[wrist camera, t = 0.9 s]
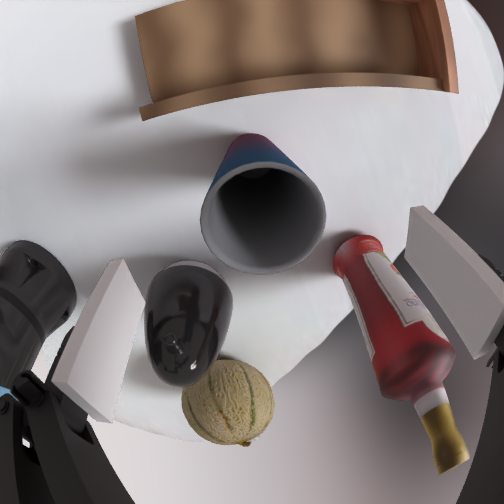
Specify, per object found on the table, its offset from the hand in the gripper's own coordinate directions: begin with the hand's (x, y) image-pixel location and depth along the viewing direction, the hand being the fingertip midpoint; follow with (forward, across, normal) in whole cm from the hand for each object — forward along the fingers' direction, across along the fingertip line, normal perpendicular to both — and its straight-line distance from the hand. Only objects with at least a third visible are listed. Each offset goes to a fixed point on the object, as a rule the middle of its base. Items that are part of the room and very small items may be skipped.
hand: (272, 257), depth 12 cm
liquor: (+19, +11, -14) cm, 26 cm away
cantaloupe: (+19, -10, -34) cm, 40 cm away
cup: (+19, 0, 0) cm, 19 cm away
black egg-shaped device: (+19, -10, -14) cm, 25 cm away
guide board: (+18, +6, +12) cm, 23 cm away
